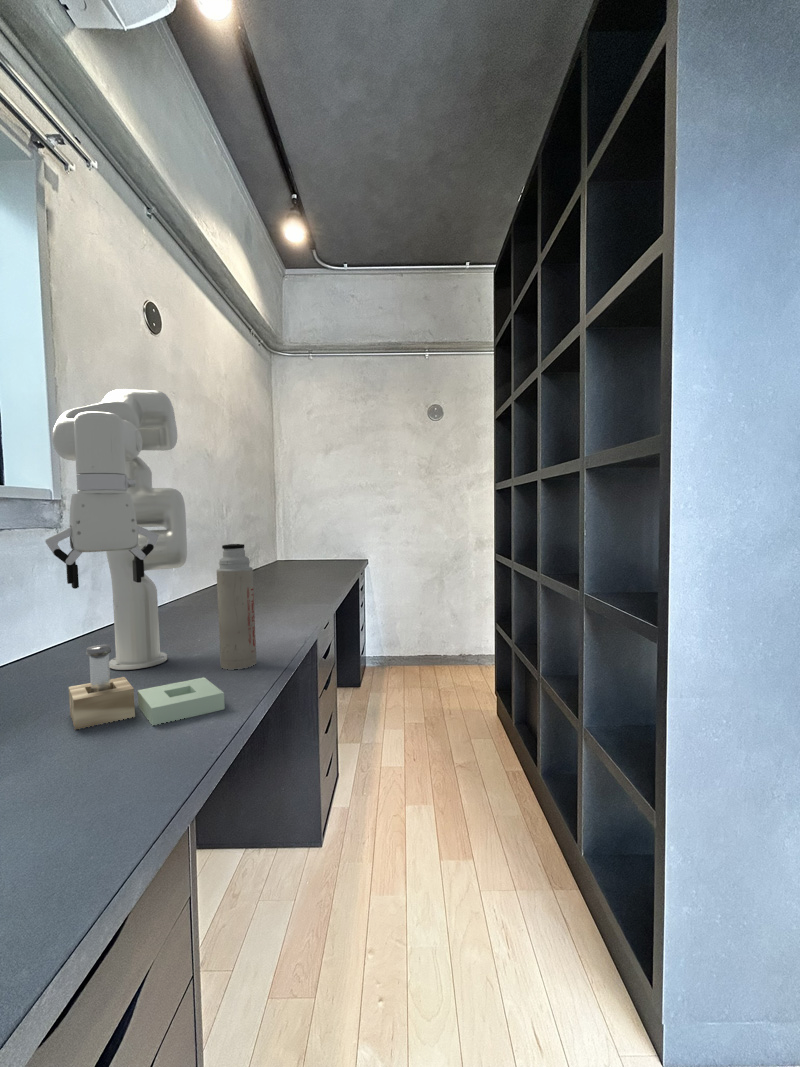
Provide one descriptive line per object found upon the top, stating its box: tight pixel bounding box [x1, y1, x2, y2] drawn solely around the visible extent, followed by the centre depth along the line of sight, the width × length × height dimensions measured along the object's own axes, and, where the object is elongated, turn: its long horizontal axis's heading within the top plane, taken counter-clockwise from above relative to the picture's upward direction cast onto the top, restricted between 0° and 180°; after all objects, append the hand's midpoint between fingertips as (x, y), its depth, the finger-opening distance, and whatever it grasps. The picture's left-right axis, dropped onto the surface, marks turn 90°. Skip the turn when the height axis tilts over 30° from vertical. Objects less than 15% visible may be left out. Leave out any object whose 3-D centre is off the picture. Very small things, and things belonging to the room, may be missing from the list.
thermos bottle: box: [216, 543, 257, 671], centre depth 126 cm, size 8×8×28 cm
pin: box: [85, 644, 112, 693], centre depth 96 cm, size 4×4×12 cm
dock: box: [137, 676, 226, 727], centre depth 99 cm, size 12×12×3 cm
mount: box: [68, 676, 136, 731], centre depth 96 cm, size 9×9×5 cm
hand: (107, 584), depth 95 cm, fingers open, 9 cm apart
